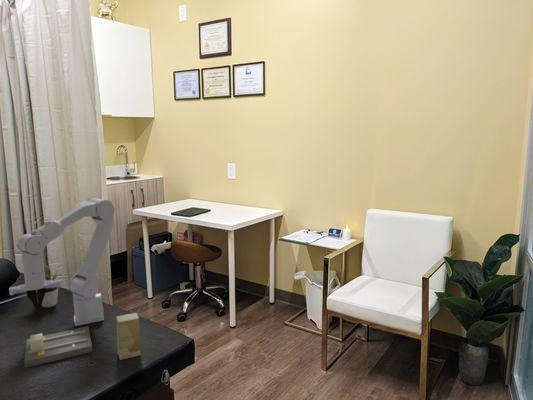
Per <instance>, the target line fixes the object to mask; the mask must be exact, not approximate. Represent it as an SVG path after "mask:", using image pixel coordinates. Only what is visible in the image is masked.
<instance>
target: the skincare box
mask: <svg viewBox="0 0 533 400" xmlns="http://www.w3.org/2000/svg"><path fill="white" fill-rule="evenodd" d="M115 321H116V323H115V325H116V341H117V356H118V358H119V360H120V361H122V360H127V359H130V358H134V357H138V356H141V354H142V351H141V333H140V331H141V330H140V328H141V327H140V317H139V314H138V312H133V313H126V314H123V315H118V316H115Z"/></svg>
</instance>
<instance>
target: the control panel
mask: <svg viewBox="0 0 533 400" xmlns="http://www.w3.org/2000/svg"><path fill="white" fill-rule="evenodd" d="M25 344H26V345H25V351H24V368H26V369H27V368H30V367H35V366H38V365H43V364H45V363H46V364H47V363H51V362H54V361H59V360H64V359H67V358H73V357H76V356H80V355H85V354H89V353H92V352H93V344H92V340H91V333H90V328H89V326H88V325H87V326H83V327H79V328H73V329H70V330H65V331H60V332H55V333H50V334H45V335H43V348H42V349H38V350H33V351H31V347H30V338H27V339H26V343H25Z"/></svg>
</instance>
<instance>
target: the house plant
mask: <svg viewBox="0 0 533 400" xmlns="http://www.w3.org/2000/svg"><path fill="white" fill-rule="evenodd" d="M60 267H61V266H59V267H58V269H57V270H56V271H55V273H54V274H53V276H52V278H51V268H50V265H49V264H48V265H46V264H44V271H45V280H56V278H57V277H59V276H60V274H57V273H58V272H61V271H62V270H64V268H61V269H60ZM59 269H60V270H59ZM58 270H59V271H58ZM61 283H63V281H62V280H61ZM58 294H59V287H53V288H47V289H46V293H45V296H44V298H43V301H42V306H41V307H43V308H51V307H54V306H56V305H57V303H58Z"/></svg>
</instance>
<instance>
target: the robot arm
mask: <svg viewBox="0 0 533 400" xmlns="http://www.w3.org/2000/svg"><path fill="white" fill-rule="evenodd" d="M115 212H116V208H115V206H114V204H113V203H112V201H111V200H108V199H103V198H102V199H101V198H97V197H88V198H87V199H86V200H83V201H81V202H80V203H79V204H78V205H77V206H76V207H75V208H73V209H72V210H70V211H69V212H67V213H66V214H64V215H63V216H62V217H61V218H59V219H57V220H55V219H51V220H49V219H48V220H46V221H44V224H43V225H41V226H40V227H38V228H36V229H32V230H31V231H30V233H24V234H22V235H21V236H20V238H19V239H18V242H17V243H16V247H17V249H18V250H19V251H21V257H22V258H21V259H22V260H21V261H22V268H23V277H24V284H19V285H15V286H10V287H9V288H8V292H9V296H14V295H17V294H20V293H26V297H27V298H28V299H29V300H30V302H31V303H32V305H33V307H34V309H35V313H41V312H42V307H43V306H42V301H43V298H44V296H45V293H46V289H47V288H53V287H58V288H62V282H61V281H62V280H61V279H54V280H52V279H50V280H45V273H46V270H45V271H44V265H45V263H44V255H43V251H44V250H45V248H46V246H47V245H48V244H49V243H51V242H53V241H54V240H55V239H57V238H58V237H60V236H62V235H63V234H64V231H65V229H66V228H67V227H69V226H71V225H72V224H75V223H76V222H78V221H80V220H82V219H83V218H85V217H88V218H91V219H92V220H93V222H94V223H95V226H96V227H95V229H94V231H93V232H94V233H93V235H92V237H91V241H90V242H89V246H88V249H87V251H86V254H85V257H84V259H83V262H82V264H81V267H80V268H78V269H77V270H76V271H75V272H74V274H73V276H72V277H71V278H70V280H69V281H68V290H69V292H71V293H72V299H73V309H74V311H73V312H74V316H73V322H74V326H75V327H78V326H83V325H88V324H92V323H97V322H101V321H104V320H105V319H104V313H105V312H104V306H103V297H102V293H101V292H99V282H100V276H99V274H98V271H99V267H100V264H101V262H102V259H103V256H104V254H105V250H106V248H107V245H108V243H109V239H110V237H111V234H112V231H113V229H114V225H115V224H114V223H115V218H114V217H115V216H114V215H115Z"/></svg>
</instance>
